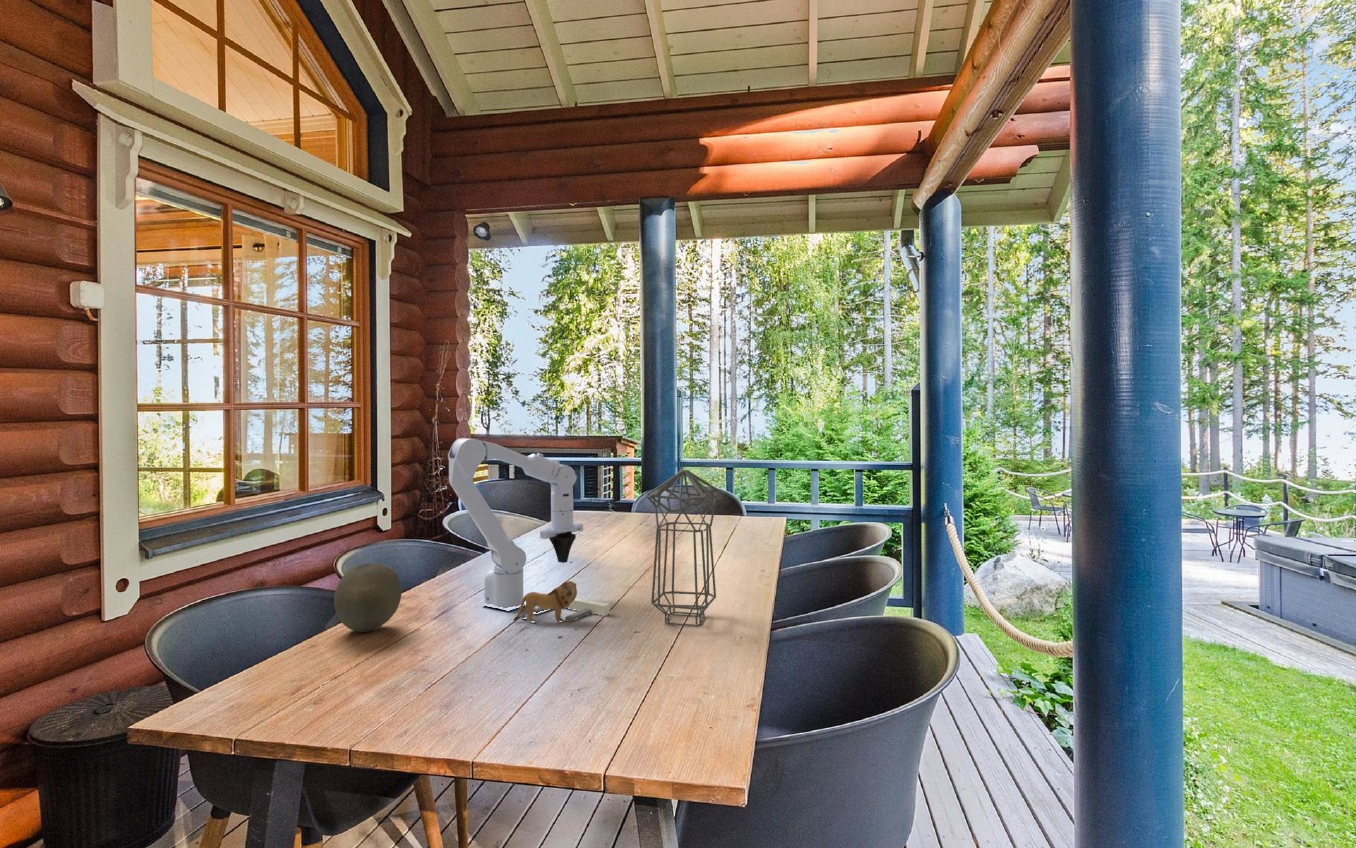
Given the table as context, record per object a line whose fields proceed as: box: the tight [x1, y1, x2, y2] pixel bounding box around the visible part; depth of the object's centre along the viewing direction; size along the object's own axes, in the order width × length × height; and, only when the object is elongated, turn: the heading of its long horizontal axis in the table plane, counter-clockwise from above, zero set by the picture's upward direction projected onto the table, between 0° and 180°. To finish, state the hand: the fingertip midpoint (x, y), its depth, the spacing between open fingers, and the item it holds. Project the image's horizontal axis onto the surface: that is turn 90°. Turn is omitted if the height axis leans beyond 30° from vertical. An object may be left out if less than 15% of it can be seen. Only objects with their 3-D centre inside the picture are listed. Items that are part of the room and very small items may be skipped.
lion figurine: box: [512, 580, 578, 622], centre depth 155 cm, size 15×5×9 cm, turn 103°
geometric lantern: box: [645, 469, 722, 627], centre depth 155 cm, size 16×16×35 cm
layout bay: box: [533, 592, 611, 622], centre depth 161 cm, size 20×10×2 cm, turn 58°
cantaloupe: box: [333, 562, 403, 633], centre depth 148 cm, size 14×14×15 cm
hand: (562, 562), depth 175 cm, fingers closed
